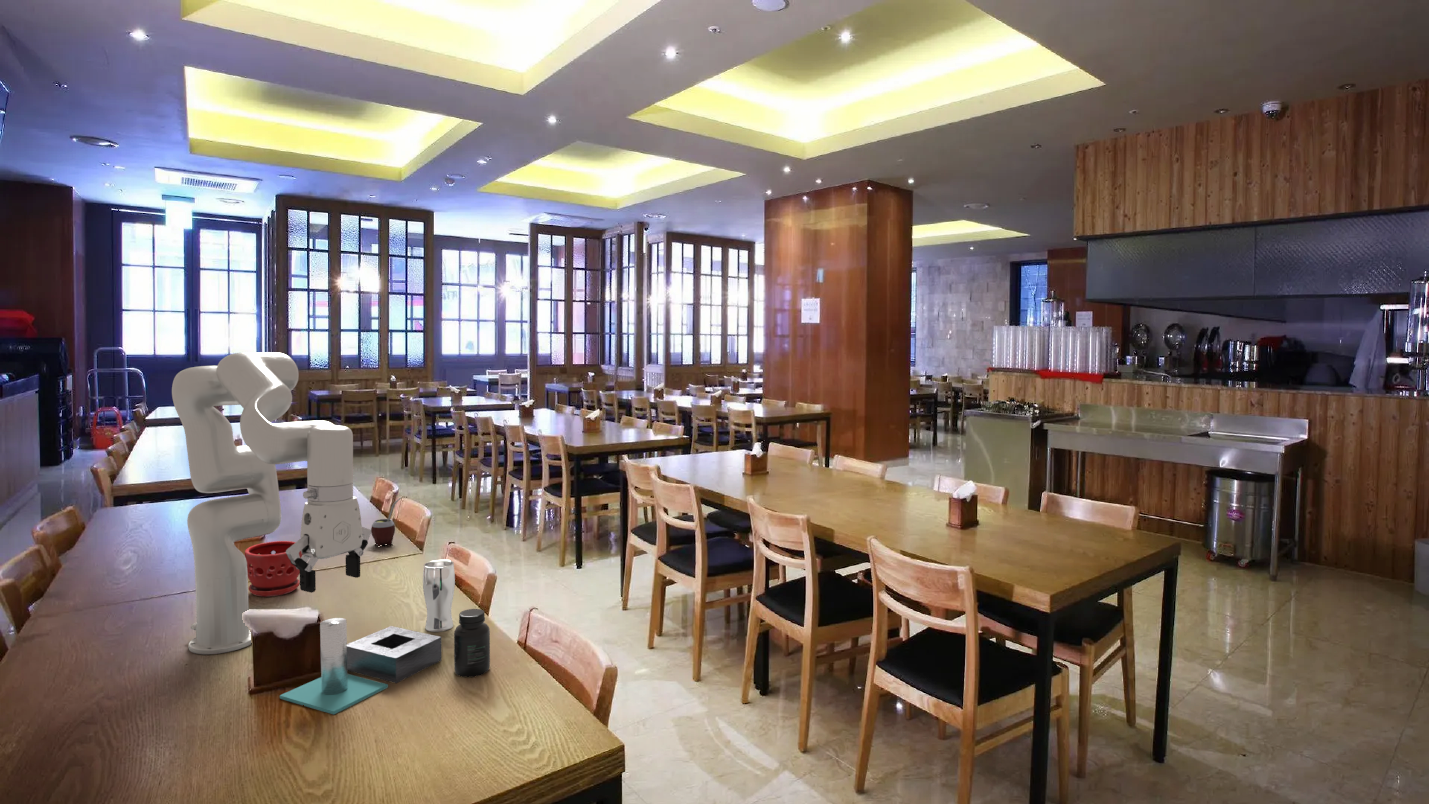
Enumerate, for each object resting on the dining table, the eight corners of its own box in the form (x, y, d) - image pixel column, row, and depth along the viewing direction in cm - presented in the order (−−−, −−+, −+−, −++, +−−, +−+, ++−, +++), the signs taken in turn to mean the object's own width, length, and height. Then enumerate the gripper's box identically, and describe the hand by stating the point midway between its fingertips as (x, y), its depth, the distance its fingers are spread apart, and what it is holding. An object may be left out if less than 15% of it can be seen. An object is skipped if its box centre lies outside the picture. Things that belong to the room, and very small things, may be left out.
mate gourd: (366, 547, 245) (366, 500, 244) (381, 541, 253) (380, 496, 252) (388, 548, 244) (387, 502, 243) (402, 542, 252) (401, 497, 250)
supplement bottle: (453, 666, 157) (452, 609, 156) (487, 661, 159) (487, 605, 158) (455, 680, 150) (455, 620, 149) (491, 674, 153) (491, 616, 152)
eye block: (344, 669, 154) (343, 645, 154) (391, 648, 165) (391, 625, 165) (396, 683, 148) (395, 658, 148) (441, 660, 159) (441, 637, 159)
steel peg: (316, 692, 143) (314, 624, 142) (336, 682, 147) (335, 616, 146) (333, 696, 141) (331, 628, 140) (353, 687, 145) (351, 620, 144)
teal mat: (279, 698, 141) (279, 695, 141) (335, 673, 152) (335, 670, 152) (333, 714, 136) (333, 711, 136) (387, 687, 147) (387, 684, 147)
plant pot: (233, 595, 197) (232, 549, 196) (279, 581, 209) (278, 538, 208) (269, 603, 192) (268, 555, 191) (314, 588, 204) (313, 543, 203)
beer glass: (444, 634, 174) (444, 569, 173) (417, 631, 175) (416, 566, 174) (460, 623, 181) (460, 560, 179) (434, 620, 182) (433, 558, 181)
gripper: (302, 504, 132) (303, 601, 133) (383, 487, 148) (383, 574, 149) (272, 498, 135) (274, 593, 136) (355, 483, 151) (355, 568, 152)
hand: (331, 583), depth 143 cm, fingers open, 9 cm apart
